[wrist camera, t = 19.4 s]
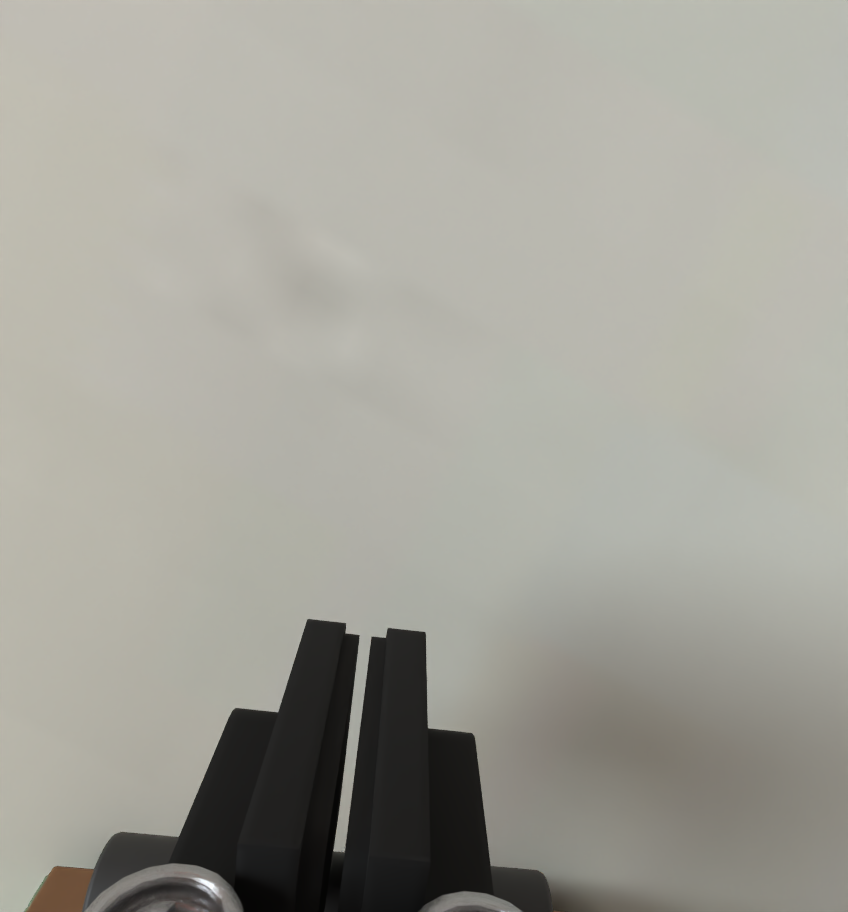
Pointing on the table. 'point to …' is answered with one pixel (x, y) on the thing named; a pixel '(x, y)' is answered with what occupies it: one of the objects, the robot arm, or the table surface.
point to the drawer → (129, 853)
